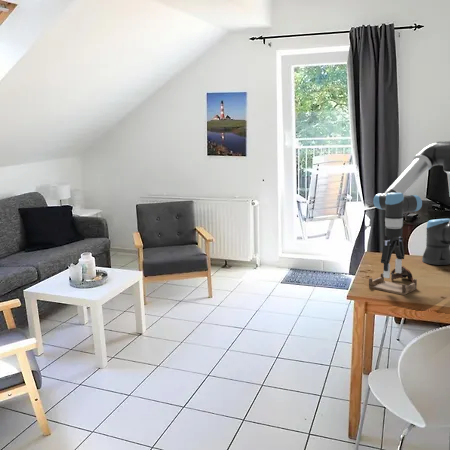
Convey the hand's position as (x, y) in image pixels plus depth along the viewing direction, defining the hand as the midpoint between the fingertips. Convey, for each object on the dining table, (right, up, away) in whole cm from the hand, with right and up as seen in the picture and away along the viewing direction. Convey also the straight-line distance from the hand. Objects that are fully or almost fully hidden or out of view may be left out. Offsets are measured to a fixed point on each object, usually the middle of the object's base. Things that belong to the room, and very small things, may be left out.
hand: (392, 275), depth 222 cm
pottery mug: (+11, -5, +13) cm, 17 cm away
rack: (0, -6, +1) cm, 6 cm away
